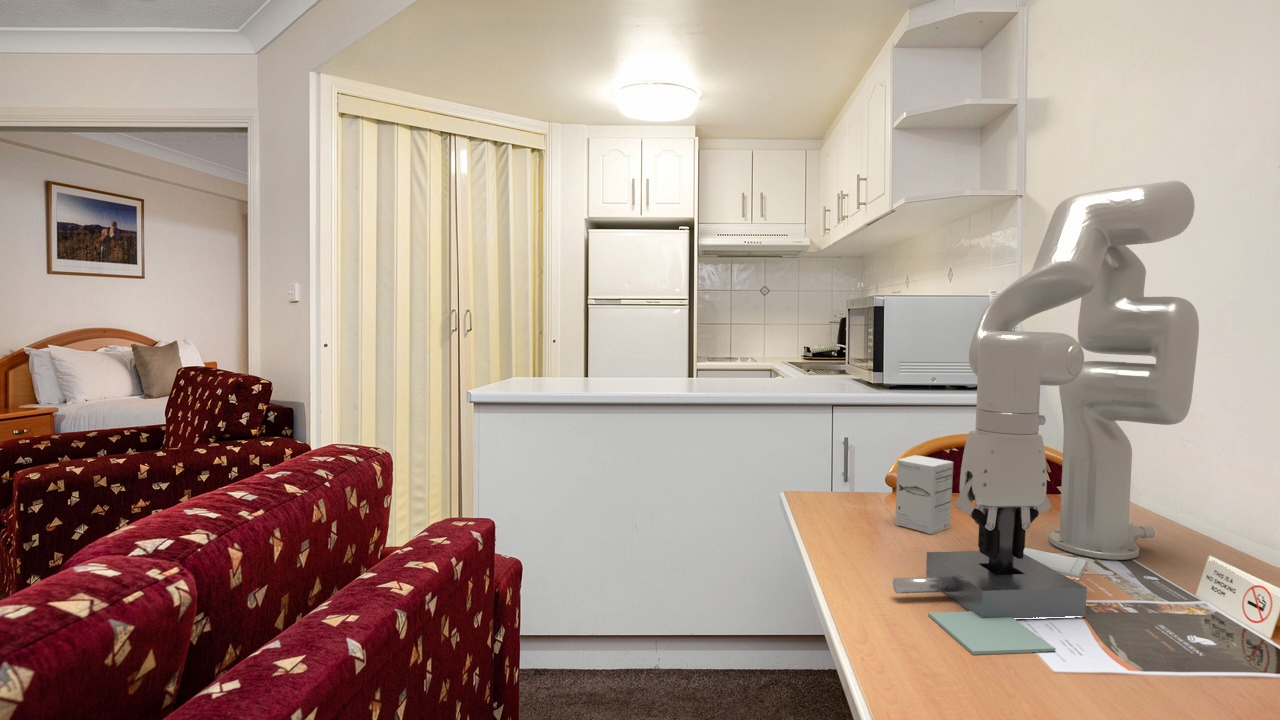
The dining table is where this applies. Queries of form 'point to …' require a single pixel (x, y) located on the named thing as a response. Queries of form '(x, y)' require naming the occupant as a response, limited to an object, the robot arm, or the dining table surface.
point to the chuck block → (998, 586)
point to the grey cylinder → (1004, 542)
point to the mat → (989, 633)
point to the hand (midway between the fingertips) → (1000, 554)
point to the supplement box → (924, 493)
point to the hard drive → (1058, 562)
